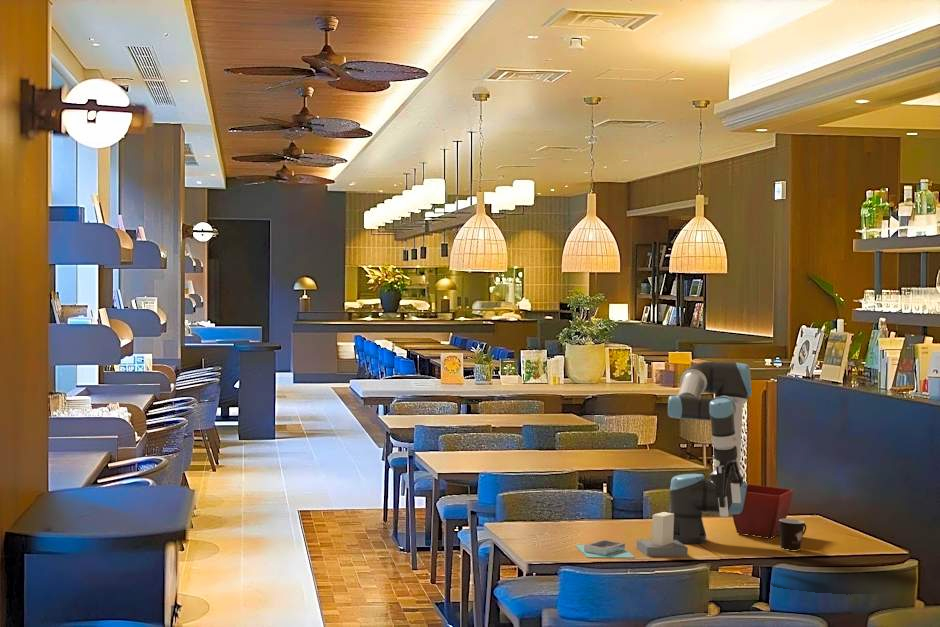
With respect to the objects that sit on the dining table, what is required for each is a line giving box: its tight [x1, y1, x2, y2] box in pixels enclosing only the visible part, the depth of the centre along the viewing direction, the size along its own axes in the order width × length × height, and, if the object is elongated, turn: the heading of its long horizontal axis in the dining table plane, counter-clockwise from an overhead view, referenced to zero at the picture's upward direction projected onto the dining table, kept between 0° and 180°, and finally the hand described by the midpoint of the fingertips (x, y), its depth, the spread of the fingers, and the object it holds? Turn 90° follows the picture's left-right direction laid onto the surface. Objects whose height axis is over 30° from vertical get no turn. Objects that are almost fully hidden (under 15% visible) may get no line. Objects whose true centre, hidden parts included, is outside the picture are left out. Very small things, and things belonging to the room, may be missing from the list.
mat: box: [574, 544, 636, 559], centre depth 403 cm, size 18×16×1 cm
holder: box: [583, 539, 626, 556], centre depth 403 cm, size 8×12×2 cm
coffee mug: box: [779, 518, 807, 550], centre depth 419 cm, size 12×9×10 cm
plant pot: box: [731, 483, 794, 538], centre depth 443 cm, size 19×19×17 cm
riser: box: [636, 539, 689, 557], centre depth 406 cm, size 12×14×3 cm
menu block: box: [650, 511, 674, 546], centre depth 406 cm, size 4×8×10 cm, turn 143°
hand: (730, 509), depth 392 cm, fingers open, 13 cm apart
